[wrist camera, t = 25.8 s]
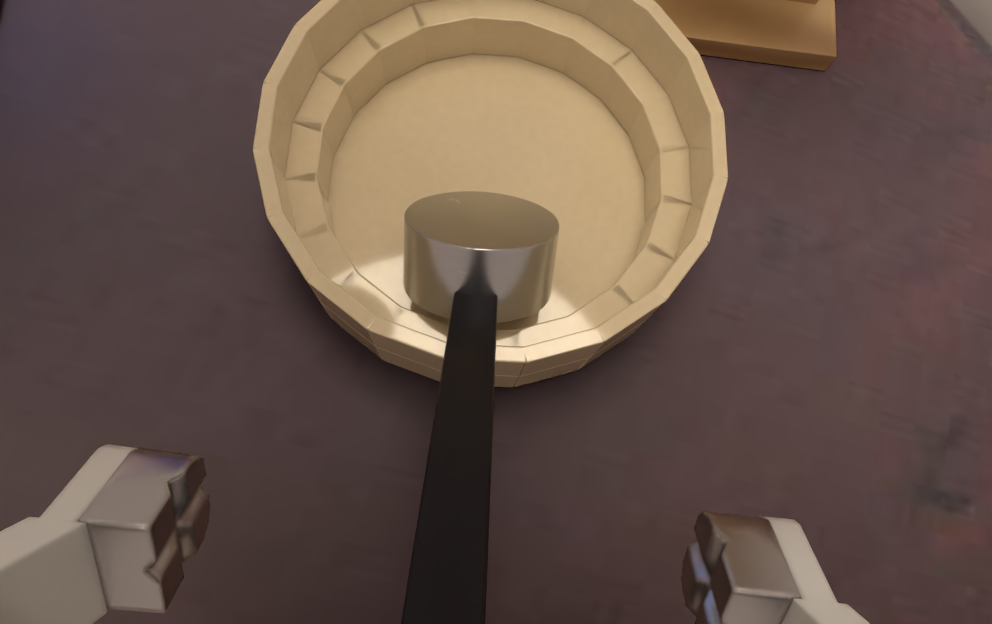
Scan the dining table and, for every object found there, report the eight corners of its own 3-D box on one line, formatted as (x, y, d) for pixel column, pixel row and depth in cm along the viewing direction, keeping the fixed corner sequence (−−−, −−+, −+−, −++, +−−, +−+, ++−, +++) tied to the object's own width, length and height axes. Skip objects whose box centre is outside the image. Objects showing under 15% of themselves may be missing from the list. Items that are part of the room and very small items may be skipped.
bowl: (523, 476, 29) (540, 469, 23) (207, 221, 31) (151, 156, 25) (750, 175, 33) (811, 106, 27) (459, -28, 35) (460, -131, 30)
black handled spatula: (413, 250, 30) (414, 185, 29) (547, 260, 30) (555, 197, 29) (244, 800, 11) (221, 690, 10) (607, 823, 11) (639, 718, 10)
